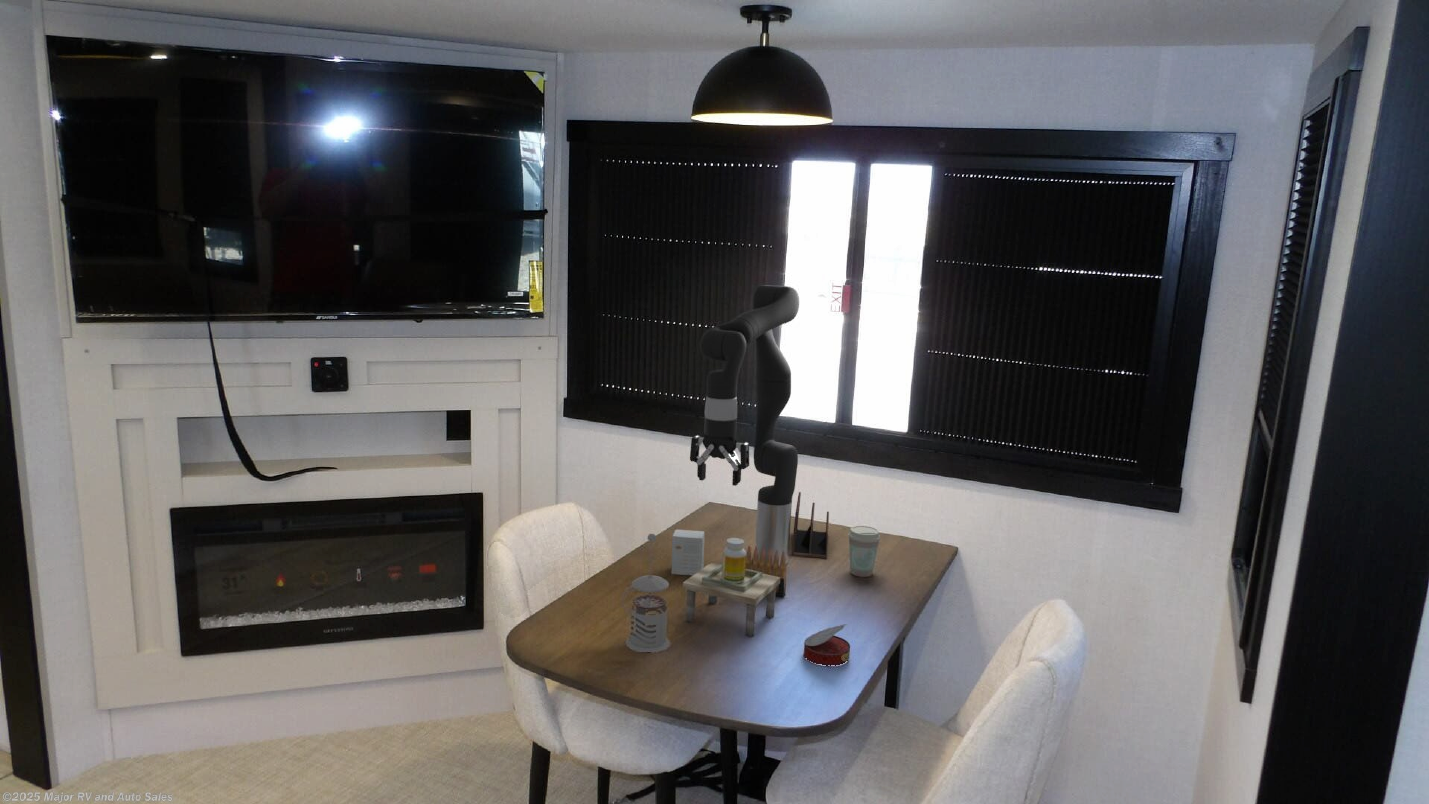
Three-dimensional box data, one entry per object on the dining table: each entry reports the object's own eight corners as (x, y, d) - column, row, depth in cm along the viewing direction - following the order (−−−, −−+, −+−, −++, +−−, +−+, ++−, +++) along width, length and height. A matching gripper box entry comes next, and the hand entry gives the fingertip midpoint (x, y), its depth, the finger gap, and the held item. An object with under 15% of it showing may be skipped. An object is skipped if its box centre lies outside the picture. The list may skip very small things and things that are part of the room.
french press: (653, 657, 204) (657, 545, 199) (609, 642, 210) (612, 533, 205) (679, 641, 212) (683, 532, 207) (636, 627, 218) (640, 521, 213)
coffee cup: (841, 575, 255) (844, 532, 253) (849, 565, 263) (852, 523, 261) (873, 581, 252) (877, 537, 250) (880, 570, 260) (884, 528, 258)
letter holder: (791, 556, 268) (794, 507, 266) (794, 533, 288) (797, 487, 285) (827, 559, 267) (830, 510, 264) (828, 536, 286) (831, 490, 284)
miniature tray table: (709, 599, 236) (711, 557, 233) (777, 615, 228) (780, 572, 226) (681, 621, 222) (683, 577, 220) (752, 639, 215) (755, 594, 213)
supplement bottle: (717, 577, 225) (719, 537, 223) (738, 574, 227) (740, 535, 225) (727, 585, 220) (730, 545, 218) (748, 582, 222) (751, 543, 220)
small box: (703, 568, 255) (705, 531, 253) (701, 576, 250) (703, 538, 248) (673, 566, 256) (675, 528, 254) (670, 574, 251) (672, 535, 249)
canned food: (823, 687, 204) (809, 654, 200) (801, 662, 213) (787, 629, 208) (867, 659, 206) (854, 625, 202) (844, 635, 215) (830, 602, 211)
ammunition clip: (785, 595, 240) (788, 550, 238) (783, 598, 238) (786, 552, 236) (744, 588, 243) (746, 543, 241) (742, 591, 241) (744, 546, 239)
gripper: (755, 416, 225) (752, 482, 228) (699, 408, 230) (698, 473, 234) (743, 422, 218) (740, 491, 222) (686, 414, 224) (684, 481, 227)
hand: (718, 482), depth 228 cm, fingers open, 8 cm apart
